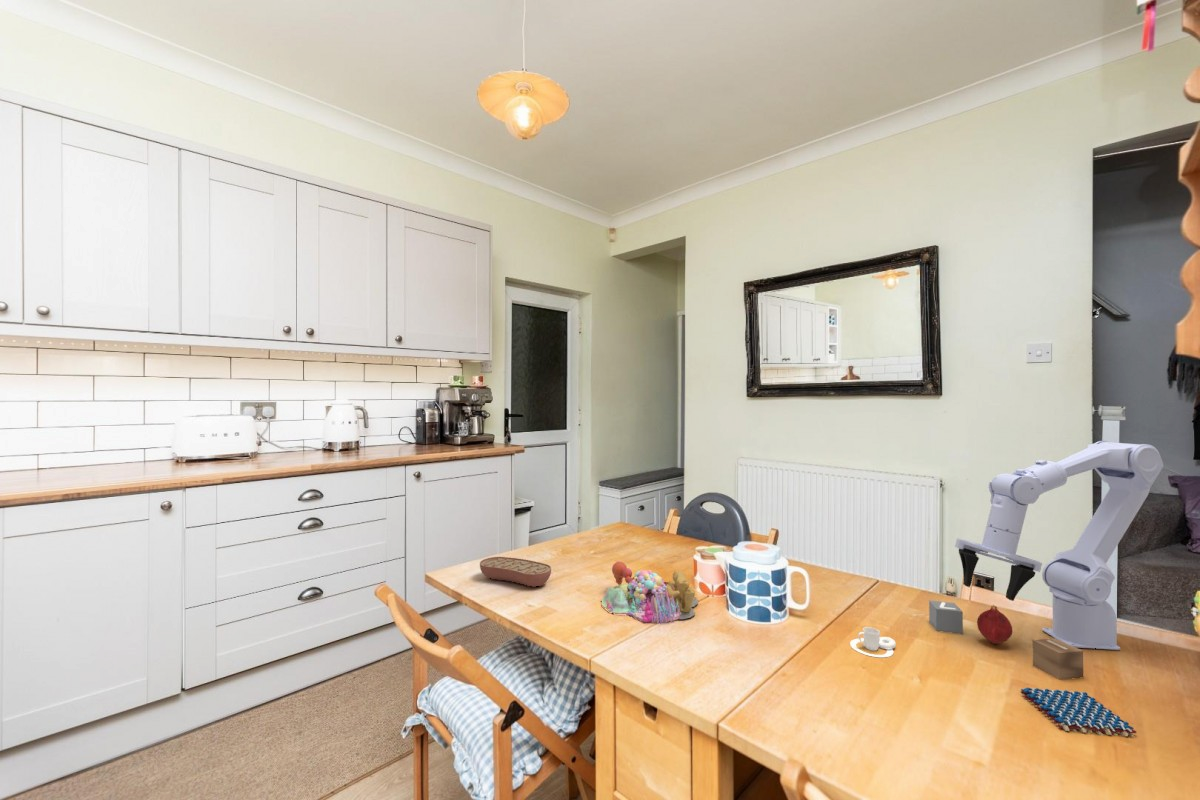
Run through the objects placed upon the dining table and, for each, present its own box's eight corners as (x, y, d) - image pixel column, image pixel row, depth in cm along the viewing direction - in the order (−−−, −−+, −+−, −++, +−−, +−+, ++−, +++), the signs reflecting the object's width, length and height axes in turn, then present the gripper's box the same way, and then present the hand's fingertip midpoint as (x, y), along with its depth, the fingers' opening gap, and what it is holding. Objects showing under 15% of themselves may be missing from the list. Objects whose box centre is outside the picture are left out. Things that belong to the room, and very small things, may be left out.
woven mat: (1141, 742, 76) (1141, 729, 76) (1062, 735, 78) (1062, 722, 78) (1086, 701, 86) (1086, 689, 86) (1017, 695, 88) (1017, 684, 88)
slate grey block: (954, 624, 115) (954, 602, 115) (962, 634, 110) (962, 611, 110) (929, 621, 116) (929, 599, 116) (936, 631, 112) (936, 608, 112)
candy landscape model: (691, 587, 139) (691, 554, 139) (707, 626, 116) (707, 586, 116) (601, 587, 140) (601, 554, 140) (599, 625, 116) (599, 585, 116)
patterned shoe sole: (473, 581, 145) (473, 563, 145) (495, 570, 154) (495, 554, 154) (539, 594, 135) (539, 576, 135) (558, 582, 143) (558, 565, 143)
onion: (1018, 652, 102) (1018, 612, 102) (986, 649, 103) (986, 610, 103) (1002, 638, 108) (1001, 601, 108) (971, 636, 109) (971, 599, 109)
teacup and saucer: (893, 644, 106) (893, 625, 106) (902, 663, 99) (902, 642, 99) (847, 638, 109) (847, 619, 109) (852, 656, 102) (852, 636, 102)
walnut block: (1055, 664, 98) (1055, 637, 98) (1083, 678, 93) (1083, 650, 93) (1032, 665, 97) (1032, 639, 97) (1059, 680, 92) (1059, 652, 92)
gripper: (969, 521, 105) (953, 584, 105) (1054, 544, 100) (1038, 611, 100) (958, 517, 112) (944, 576, 112) (1038, 539, 106) (1023, 601, 106)
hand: (987, 592), depth 106 cm, fingers open, 7 cm apart
